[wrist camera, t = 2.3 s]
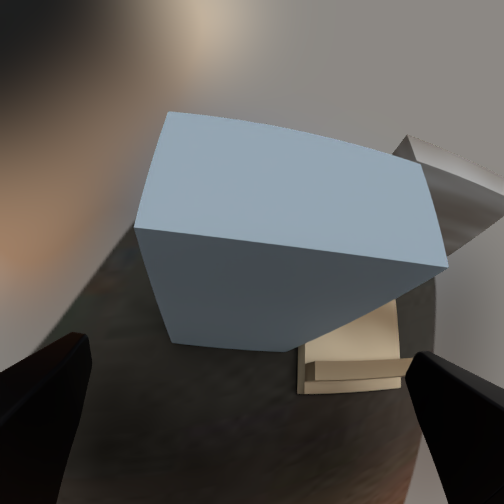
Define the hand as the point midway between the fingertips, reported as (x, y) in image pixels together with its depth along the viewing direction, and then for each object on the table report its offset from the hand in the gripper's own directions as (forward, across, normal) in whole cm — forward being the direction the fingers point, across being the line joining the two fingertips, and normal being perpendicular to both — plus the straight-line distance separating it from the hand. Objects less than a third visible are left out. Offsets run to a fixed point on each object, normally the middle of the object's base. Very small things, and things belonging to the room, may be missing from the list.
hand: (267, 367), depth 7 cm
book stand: (+9, -8, +5) cm, 13 cm away
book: (+9, 0, +5) cm, 11 cm away
